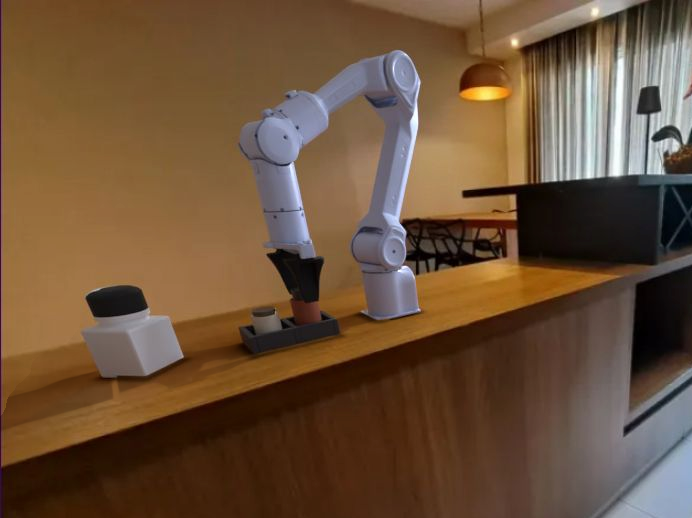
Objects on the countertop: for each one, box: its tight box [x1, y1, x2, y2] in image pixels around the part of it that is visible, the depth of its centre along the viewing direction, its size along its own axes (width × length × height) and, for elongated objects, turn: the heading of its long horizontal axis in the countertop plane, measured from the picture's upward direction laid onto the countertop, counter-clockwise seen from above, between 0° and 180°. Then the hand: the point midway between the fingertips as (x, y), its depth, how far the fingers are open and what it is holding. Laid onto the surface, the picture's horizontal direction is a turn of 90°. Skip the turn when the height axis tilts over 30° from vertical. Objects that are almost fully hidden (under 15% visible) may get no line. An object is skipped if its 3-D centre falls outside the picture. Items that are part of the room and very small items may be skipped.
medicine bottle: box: [80, 284, 185, 379], centre depth 62 cm, size 7×7×12 cm
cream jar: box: [250, 305, 283, 335], centre depth 71 cm, size 4×4×6 cm
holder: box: [238, 310, 341, 355], centre depth 74 cm, size 14×7×3 cm, turn 132°
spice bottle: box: [289, 287, 322, 326], centre depth 74 cm, size 4×4×8 cm
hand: (303, 297), depth 73 cm, fingers open, 7 cm apart
